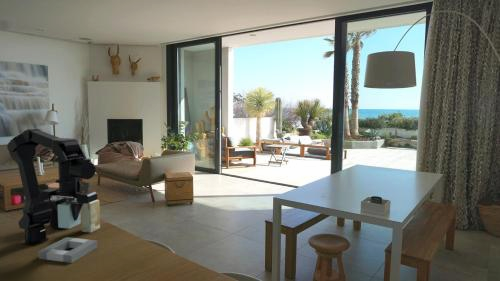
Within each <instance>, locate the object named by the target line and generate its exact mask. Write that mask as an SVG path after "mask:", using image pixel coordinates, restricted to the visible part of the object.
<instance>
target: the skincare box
mask: <svg viewBox="0 0 500 281" xmlns="http://www.w3.org/2000/svg"><path fill="white" fill-rule="evenodd" d="M100 210H101V209H100V199H97V200H95V201H92V202H90V203H87V204H83V206H82V208H81V232H82V233H93V232H95V231H97V230H98V229H101V214H100V212H101V211H100Z"/></svg>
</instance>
